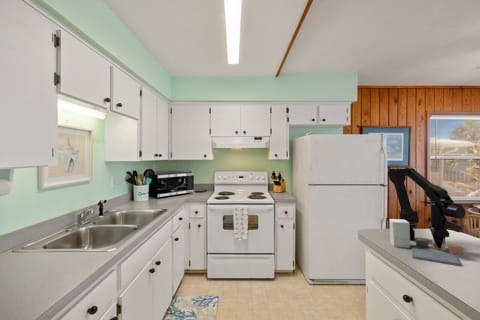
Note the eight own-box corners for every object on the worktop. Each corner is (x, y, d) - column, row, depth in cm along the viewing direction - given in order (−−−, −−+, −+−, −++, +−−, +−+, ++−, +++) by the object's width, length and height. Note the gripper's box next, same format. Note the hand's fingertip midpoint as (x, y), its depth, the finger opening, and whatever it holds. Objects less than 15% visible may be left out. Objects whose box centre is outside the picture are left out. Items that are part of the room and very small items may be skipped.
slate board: (412, 258, 110) (412, 255, 110) (411, 249, 120) (411, 247, 120) (460, 266, 101) (460, 263, 101) (455, 256, 111) (455, 254, 111)
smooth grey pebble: (416, 246, 124) (416, 240, 124) (415, 244, 129) (415, 238, 129) (428, 248, 122) (428, 242, 122) (427, 245, 126) (427, 239, 126)
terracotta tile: (448, 252, 117) (448, 246, 117) (447, 250, 119) (447, 244, 119) (463, 254, 114) (462, 247, 114) (461, 252, 116) (461, 246, 116)
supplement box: (405, 243, 129) (405, 219, 129) (410, 248, 122) (409, 222, 122) (389, 242, 132) (389, 218, 132) (393, 246, 125) (392, 221, 125)
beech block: (433, 249, 120) (433, 237, 120) (432, 246, 124) (432, 234, 124) (445, 251, 118) (445, 238, 118) (444, 248, 121) (443, 236, 121)
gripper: (463, 220, 109) (464, 256, 108) (456, 212, 124) (457, 243, 124) (431, 217, 115) (432, 251, 115) (428, 210, 130) (429, 240, 130)
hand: (438, 246), depth 121 cm, fingers open, 5 cm apart
